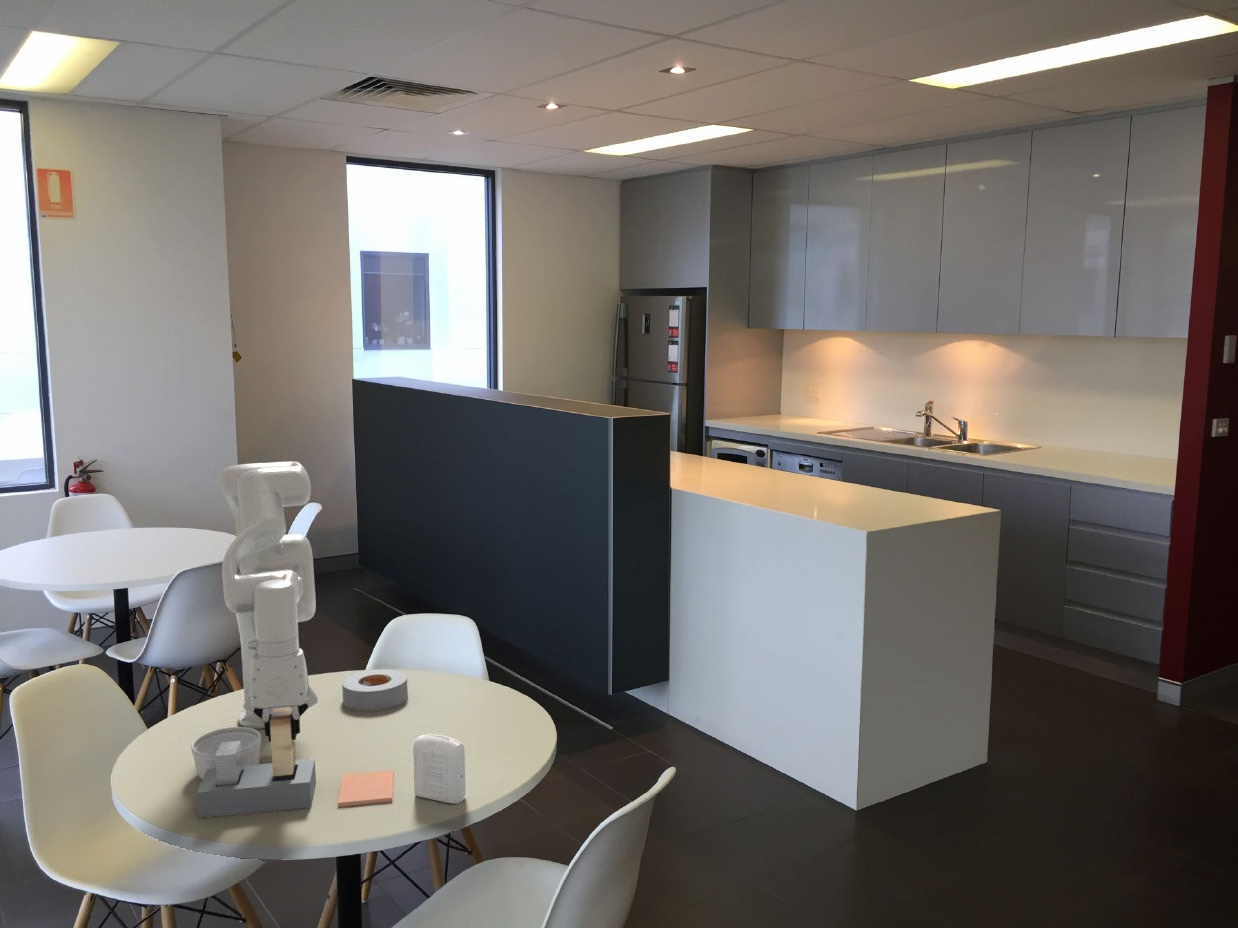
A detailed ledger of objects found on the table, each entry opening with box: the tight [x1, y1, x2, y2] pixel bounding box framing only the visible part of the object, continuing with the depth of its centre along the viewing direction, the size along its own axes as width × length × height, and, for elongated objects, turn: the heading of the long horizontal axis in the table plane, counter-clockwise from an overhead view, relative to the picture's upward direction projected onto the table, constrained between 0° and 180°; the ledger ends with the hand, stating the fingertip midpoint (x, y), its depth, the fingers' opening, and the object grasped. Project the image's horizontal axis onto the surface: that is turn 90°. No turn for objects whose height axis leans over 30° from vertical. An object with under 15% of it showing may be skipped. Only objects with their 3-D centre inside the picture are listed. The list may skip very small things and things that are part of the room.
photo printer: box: [412, 733, 466, 805], centre depth 190 cm, size 10×4×12 cm, turn 69°
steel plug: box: [215, 741, 243, 787], centre depth 188 cm, size 6×4×11 cm, turn 12°
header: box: [196, 758, 317, 818], centre depth 190 cm, size 10×20×5 cm, turn 102°
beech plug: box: [270, 707, 297, 776], centre depth 190 cm, size 6×4×11 cm, turn 12°
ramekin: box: [190, 726, 262, 781], centre depth 202 cm, size 13×13×7 cm
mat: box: [337, 769, 395, 808], centre depth 194 cm, size 12×10×1 cm
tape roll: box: [341, 669, 409, 712], centre depth 240 cm, size 15×15×5 cm
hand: (283, 736), depth 190 cm, fingers closed on beech plug, 3 cm apart
